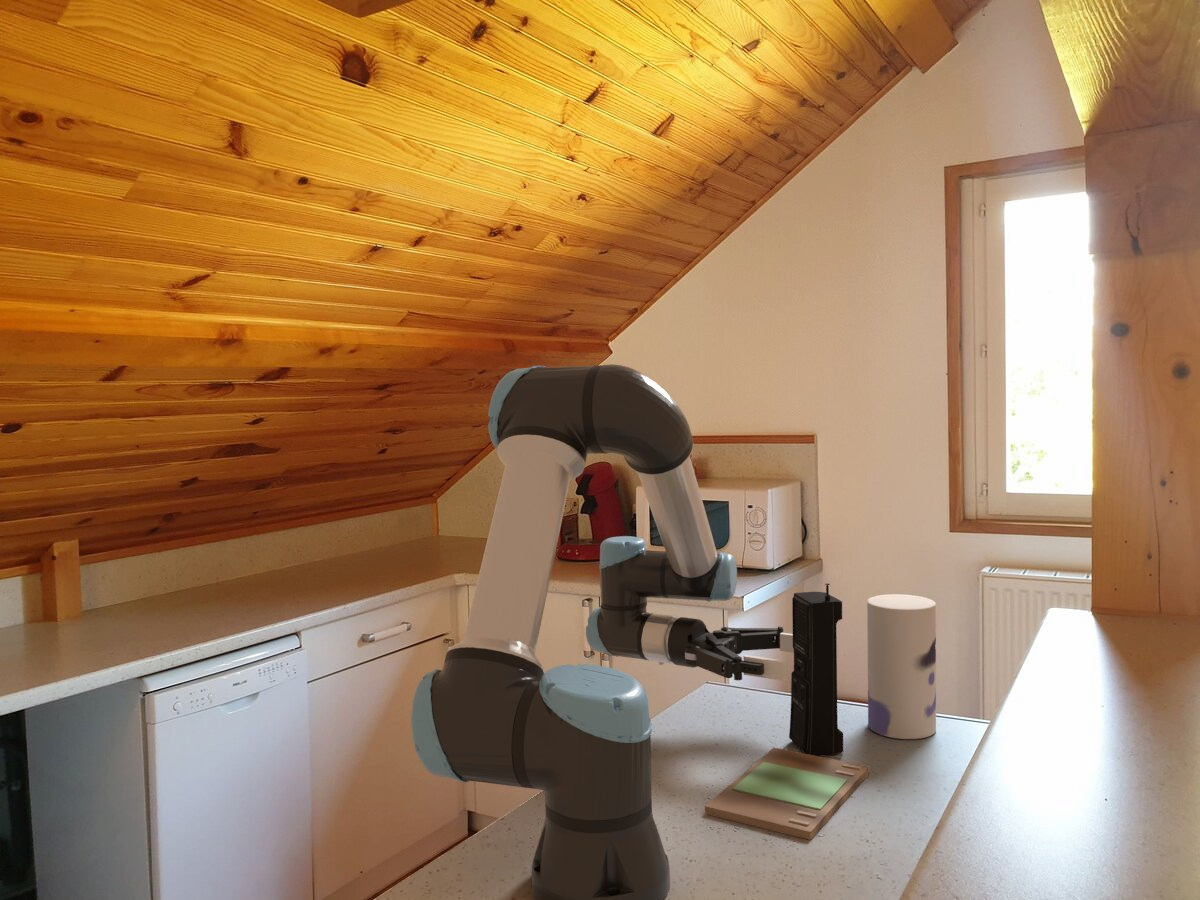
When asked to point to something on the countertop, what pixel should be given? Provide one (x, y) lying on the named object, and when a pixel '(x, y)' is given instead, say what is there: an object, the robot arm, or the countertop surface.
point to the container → (901, 666)
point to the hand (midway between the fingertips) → (805, 658)
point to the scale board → (788, 792)
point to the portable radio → (815, 674)
